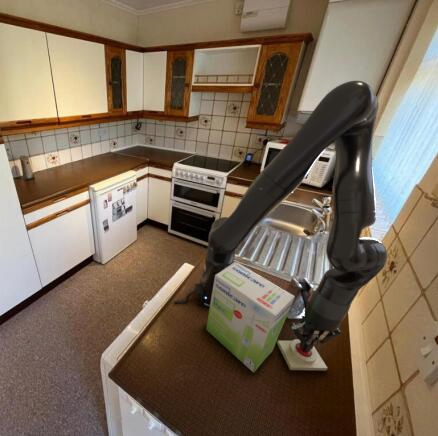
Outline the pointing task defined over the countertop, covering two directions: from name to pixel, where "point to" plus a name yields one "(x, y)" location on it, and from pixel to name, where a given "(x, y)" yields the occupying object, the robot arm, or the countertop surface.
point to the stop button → (302, 351)
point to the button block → (300, 357)
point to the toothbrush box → (247, 313)
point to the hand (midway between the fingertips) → (304, 348)
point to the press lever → (304, 293)
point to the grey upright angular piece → (298, 298)
